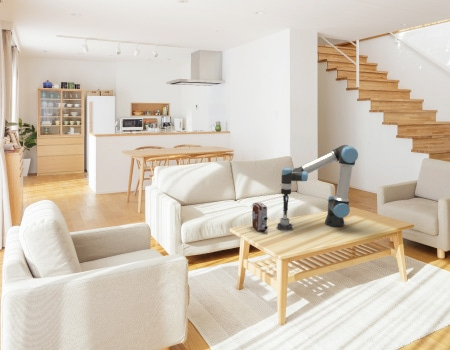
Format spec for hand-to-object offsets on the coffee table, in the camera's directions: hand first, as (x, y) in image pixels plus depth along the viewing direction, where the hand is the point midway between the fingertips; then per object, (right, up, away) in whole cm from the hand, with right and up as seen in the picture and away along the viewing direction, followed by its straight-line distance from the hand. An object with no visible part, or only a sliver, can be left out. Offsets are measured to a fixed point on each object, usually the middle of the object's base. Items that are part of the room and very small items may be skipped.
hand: (285, 218), depth 304 cm
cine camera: (-19, -9, -2) cm, 21 cm away
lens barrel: (0, -8, +1) cm, 8 cm away
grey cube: (0, -7, +1) cm, 8 cm away
